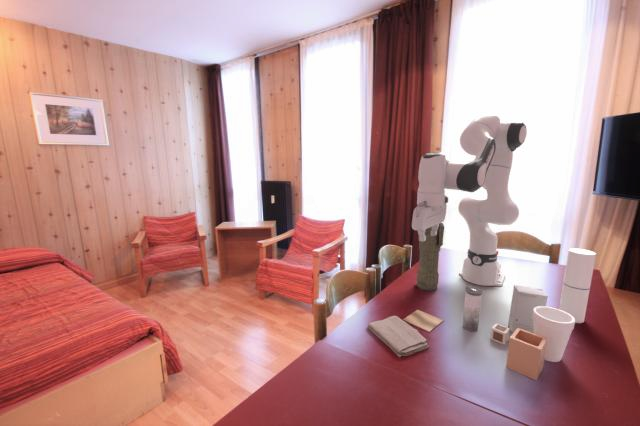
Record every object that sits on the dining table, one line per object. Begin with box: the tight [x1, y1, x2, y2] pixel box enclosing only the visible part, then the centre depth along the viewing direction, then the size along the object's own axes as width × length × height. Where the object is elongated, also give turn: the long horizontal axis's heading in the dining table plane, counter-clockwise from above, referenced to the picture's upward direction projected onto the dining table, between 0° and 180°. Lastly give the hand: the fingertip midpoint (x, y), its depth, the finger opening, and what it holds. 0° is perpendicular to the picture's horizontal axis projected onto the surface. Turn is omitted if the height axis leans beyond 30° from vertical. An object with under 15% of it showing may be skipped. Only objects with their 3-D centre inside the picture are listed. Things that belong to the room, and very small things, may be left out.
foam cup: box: [533, 305, 576, 363], centre depth 85 cm, size 10×9×13 cm
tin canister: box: [462, 285, 483, 332], centre depth 99 cm, size 5×5×14 cm
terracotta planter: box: [505, 328, 548, 381], centre depth 81 cm, size 7×7×9 cm
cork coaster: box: [402, 309, 444, 333], centre depth 105 cm, size 10×10×1 cm
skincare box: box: [507, 284, 549, 334], centre depth 97 cm, size 8×6×15 cm
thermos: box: [416, 222, 445, 292], centre depth 129 cm, size 9×12×35 cm
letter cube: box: [489, 323, 511, 346], centre depth 94 cm, size 4×4×4 cm
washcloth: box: [367, 315, 430, 358], centre depth 95 cm, size 12×18×3 cm, turn 25°
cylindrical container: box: [558, 247, 597, 324], centre depth 104 cm, size 7×7×25 cm
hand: (428, 238), depth 105 cm, fingers open, 8 cm apart
